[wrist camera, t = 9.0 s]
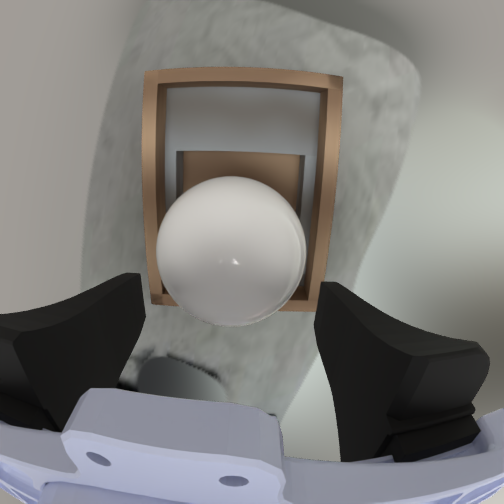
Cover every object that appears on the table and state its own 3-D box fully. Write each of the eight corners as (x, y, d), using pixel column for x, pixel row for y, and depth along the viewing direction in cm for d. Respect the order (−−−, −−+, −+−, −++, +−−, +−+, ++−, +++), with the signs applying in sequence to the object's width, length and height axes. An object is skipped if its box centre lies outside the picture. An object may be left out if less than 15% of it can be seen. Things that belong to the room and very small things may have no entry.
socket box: (307, 280, 23) (318, 311, 19) (168, 274, 23) (151, 304, 19) (324, 88, 18) (343, 76, 14) (166, 83, 18) (144, 71, 14)
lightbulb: (180, 176, 20) (107, 222, 9) (273, 151, 19) (299, 167, 9) (207, 262, 22) (174, 368, 12) (294, 241, 21) (331, 338, 11)
